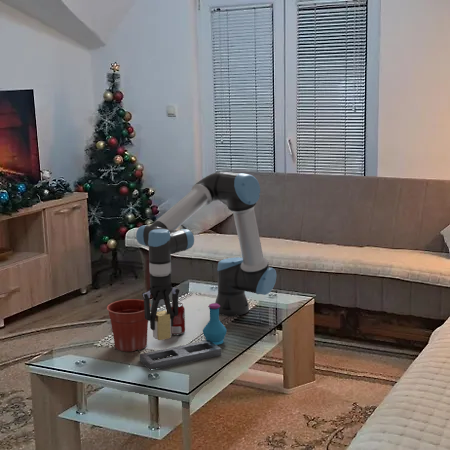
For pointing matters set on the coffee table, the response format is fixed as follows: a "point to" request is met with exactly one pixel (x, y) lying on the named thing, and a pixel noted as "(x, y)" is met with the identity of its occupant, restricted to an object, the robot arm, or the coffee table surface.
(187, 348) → the grey slotted tray
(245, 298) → the robot arm
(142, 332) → the flower pot
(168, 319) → the yellow wooden block
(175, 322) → the soda can
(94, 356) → the coffee table surface
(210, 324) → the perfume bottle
